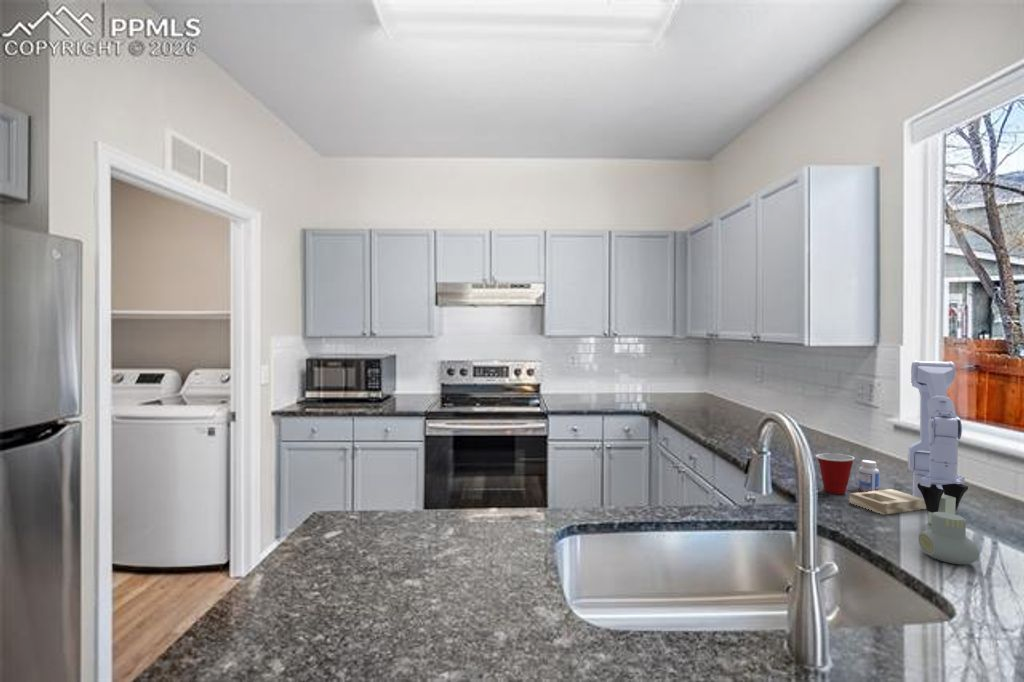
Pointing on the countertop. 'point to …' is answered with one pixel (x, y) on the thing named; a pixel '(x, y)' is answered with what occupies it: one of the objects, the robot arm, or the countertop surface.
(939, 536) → the air freshener
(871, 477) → the pill bottle
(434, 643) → the countertop surface
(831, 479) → the plastic cup
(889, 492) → the socket rail
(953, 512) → the square peg
